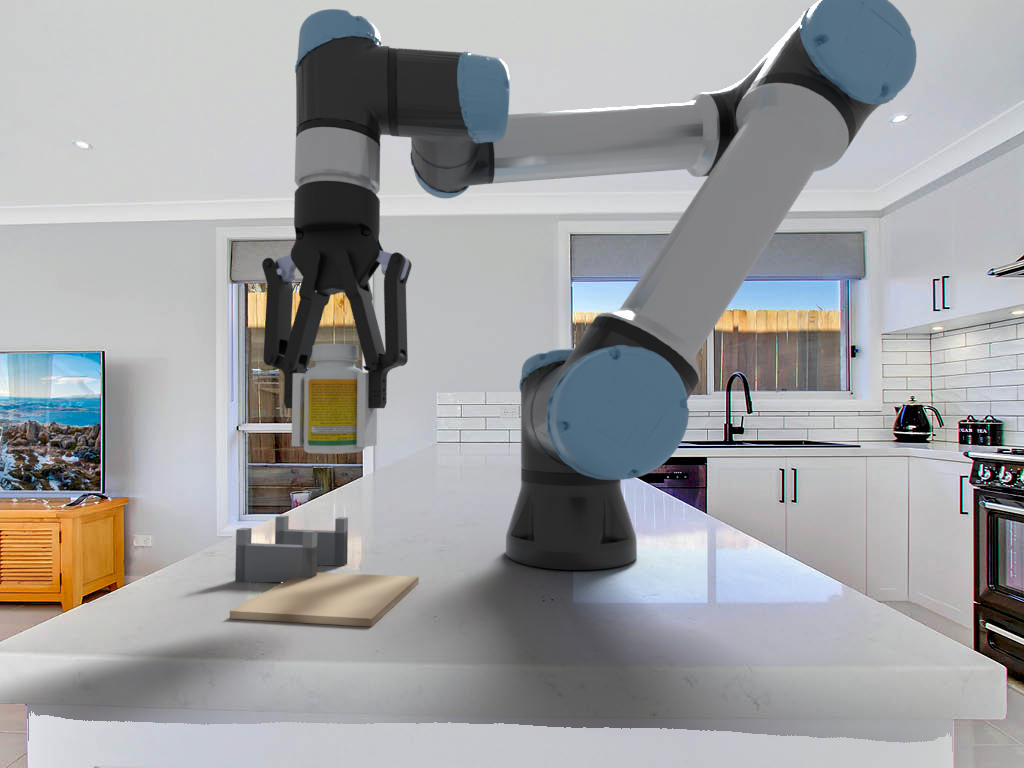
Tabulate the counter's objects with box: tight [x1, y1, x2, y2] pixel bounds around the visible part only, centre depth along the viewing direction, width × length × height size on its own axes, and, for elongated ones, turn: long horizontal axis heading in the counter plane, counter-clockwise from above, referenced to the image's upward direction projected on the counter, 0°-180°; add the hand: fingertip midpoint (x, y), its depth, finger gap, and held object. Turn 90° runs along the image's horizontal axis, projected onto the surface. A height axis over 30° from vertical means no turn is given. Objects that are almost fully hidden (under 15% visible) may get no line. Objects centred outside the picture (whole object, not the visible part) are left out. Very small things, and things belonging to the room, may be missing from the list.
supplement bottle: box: [303, 343, 366, 455], centre depth 55 cm, size 5×5×10 cm
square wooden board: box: [229, 571, 420, 628], centre depth 54 cm, size 12×12×1 cm
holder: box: [234, 514, 349, 583], centre depth 63 cm, size 8×8×5 cm
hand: (334, 445), depth 54 cm, fingers closed on supplement bottle, 5 cm apart
